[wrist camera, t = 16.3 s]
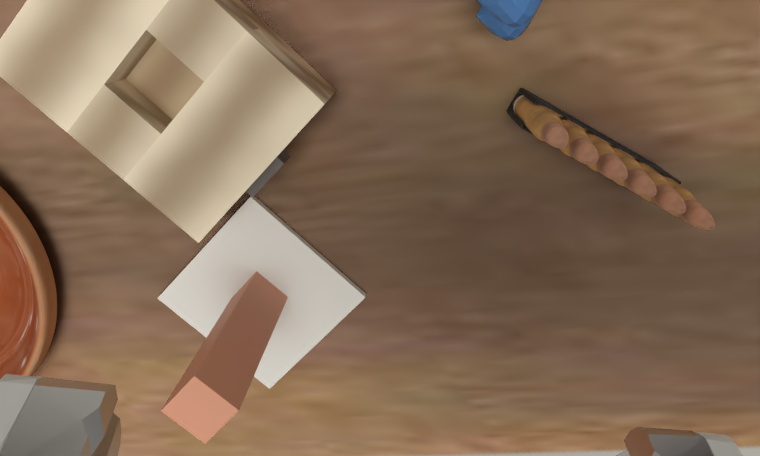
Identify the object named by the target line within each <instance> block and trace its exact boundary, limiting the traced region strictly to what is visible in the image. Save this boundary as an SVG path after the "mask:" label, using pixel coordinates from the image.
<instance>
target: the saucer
mask: <svg viewBox="0 0 760 456" xmlns="http://www.w3.org/2000/svg"><path fill="white" fill-rule="evenodd" d="M56 320H57V293H56V286H55V280H54V276H53V272H52V268H51V265H50V262H49V259H48V256H47V254H46V251H45V249H44V247H43V245H42V242H41V241H40V239H39V237H38V235H37V233H36V231H35V229H34V228H33V226H32V224H31V223H30V221H29V220H28V218H27V217H26V216H25V214H24V213H23V211H22V210H21V209H20V207H19V206H18V205H17V204H16V203H15V201H14V200H13V199H12V198H11V197H10V196H9V195H8V194H7V192H6V191H5V190H4V189H3V188H2V187H1V186H0V379H1V378H2V377H3V376H4V375H5V374H13V375H24V376H31V375H32V374H33V373H34V372H35V371H36V370H37V368H38V367H39V366H40V364H41V363H42V361H43V359H44V357H45V356H46V354H47V352H48V349H49V347H50V345H51V342H52V338H53V335H54V331H55V326H56Z"/></svg>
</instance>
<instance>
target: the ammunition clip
mask: <svg viewBox="0 0 760 456" xmlns="http://www.w3.org/2000/svg"><path fill="white" fill-rule="evenodd" d="M507 113H508V114H509V115H510V116H511V117H512V118H513V119H514V120H515V121H516V123H517V124H518V125H519V126H520V127H521V128H522V129H524V130H526V131H528V132H529V133H531V134H533V135H534V136H535V137H536V138H537V139H539V140H541V141H545V142H546V143H548V144H549V145H551V146H553V147H555V148H558V149H559V150H561V151H562V152H563V153H564V154H566V155H567V156H571V157H573V158H575V159H576V160H577V161H579V162H581V163H583V164H586V165H587V166H588V167H589V168H590V169H592V170H594V171H598V172H599V173H601V174H603V175H604V176H606V177H607V178H609V179H611V180H613V181H614V182H615V183H617V184H619V185H620V186H624V187H626V188H627V189H629V190H631V191H632V192H634V193H636V194H637V195H639V196H640V197H642V198H643V199H645V200H647V201H651V202H652V203H654V204H656V205H657V206H659V207H660V208H662V209H664V210H665V211H667V212H668V213H670V214H672V215H674V216H677V217H679V218H681V219H682V220H684V221H686V222H687V223H688V224H690V225H692V226H694V227H696V228H699V229H703V230H713V229H714V228H715V222H714V219H713V217H712V216H711V214H710V213H709V212H708V210H707V209H706V208H705V207H704V206H702V205H701V204H700V203H699V202H698V201H697V200H696V199H695V198H694V197H693V195H692V194H691V193H690V191H688V190H687V189H686V188H684V187H683V186H681V185H680V184H681V182H680V181H679V180H677V179H676V178H674V177H673V176H672V175H670V174H669V173H667V172H666V171H664V170H663V169H661V168H660V167H658V166H657V165H656V164H654V163H652V162H650V161H649V160H647V159H645V158H643V157H642V156H640V155H638V154H637V153H635V152H633V151H631V150H630V149H628V148H626V147H624V146H623V145H621V144H619V143H617V142H616V141H614V140H612V139H610V138H609V137H607V136H605V135H603V134H602V133H600V132H598V131H597V130H595V129H593V128H591V127H590V126H588V125H586V124H584V123H583V122H581V121H579V120H577V119H576V118H574V117H572V116H570V115H569V114H567V113H565V112H563V111H562V110H560V109H558V108H557V107H555V106H553V105H551V104H550V103H548V102H546V101H544V100H543V99H541V98H539V97H537V96H536V95H534V94H532V93H530V92H529V91H527V90H525V89H523V88H520V89H519V91H518V93H517V94H516V96H515V98H514V99H513V101H512V103H511V104H510V106H509V107H508V109H507Z"/></svg>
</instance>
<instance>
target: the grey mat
mask: <svg viewBox="0 0 760 456" xmlns="http://www.w3.org/2000/svg"><path fill="white" fill-rule="evenodd" d="M256 271H257V272H258V273H259V274H261V275H262V276H263V277H264V278H266V279H267V280H268V281H269V282H270V283H272V284H273V285H274V286H275V287H276V288H278V289H279V290H280V291H281V292H282V293H284V294H285V295H286V296H287V297H288V298H287V301H286V303H285V305H284V308H283V310H282V312H281V315H280V317H279V319H278V322H277V324H276V326H275V328H274V331H273V333H272V335H271V338H270V340H269V342H268V345H267V347H266V349H265V351H264V354H263V356H262V358H261V361H260V363H259V365H258V368H257V370H256V372H255V374H254V377H256V378H257V379H258V380H259V381H261V382H262V383H263V384H264V385H265V386H267V387H268V388H269V389H270V388H271V387H272V386H273V385H274V384H275V383H276V382H277V381H278V380H279V379H280V378H281V377H283V376H284V375H285V374H286V373H287V372H288V371H289V370H290V369H291V368H292V367H293V366H294V365H295V364H296V363H297V362H298V361H299V360H300V359H301V358H302V357H304V356H305V355H306V354H307V353H308V352H309V351H310V350H311V349H312V348H313V347H314V346H315V345H316V344H317V343H318V342H319V341H320V340H321V339H322V338H323V337H325V336H326V335H327V334H328V333H329V332H330V331H331V330H332V329H333V328H334V327H335V326H336V325H337V324H338V323H339V322H340V321H341V320H342V319H343V318H344V317H346V316H347V315H348V314H349V313H350V312H351V311H352V310H353V309H354V308H355V307H356V306H357V305H358V304H359V303H360V302H361V301H362V300H363V299H364V298H365V297H366V293H365V292H364V291H362V290H361V289H360V288H359V287H358V286H357V285H356V284H354V283H353V282H352V281H351V280H350V279H349V278H348V277H346V276H345V275H344V274H343V273H342V272H341V271H340V270H338V269H337V268H336V267H335V266H334V265H333V264H332V263H330V262H329V261H328V260H327V259H326V258H325V257H324V256H322V255H321V254H320V253H319V252H318V251H317V250H316V249H314V248H313V247H312V246H311V245H310V244H309V243H308V242H306V241H305V240H304V239H303V238H302V237H301V236H300V235H298V234H297V233H296V232H295V231H294V230H293V229H292V228H290V227H289V226H288V225H287V224H286V223H285V222H284V221H283V220H281V219H280V218H279V217H278V216H277V215H276V214H275V213H273V212H272V211H271V210H270V209H269V208H268V207H267V206H265V205H264V204H263V203H262V202H261V201H260V200H259V199H257V198H256V197H255V196H254V197H251V196H250V197H249V199H248V200H247V201H246V202H245V203H244V204H243V205H242V206H241V207H240V208H239V210H238V211H237V212H236V213H235V214H234V215H233V216H232V217H231V218H230V219H229V220H228V222H227V223H226V224H225V225H224V226H223V227H222V228H221V229H220V230H219V231H218V232H217V234H216V235H215V236H214V237H213V238H212V239H211V240H210V241H209V242H208V243H207V245H206V246H205V247H204V248H203V249H202V250H201V251H200V252H199V253H198V254H197V255H196V257H195V258H194V259H193V260H192V261H191V262H190V263H189V264H188V265H187V266H186V267H185V269H184V270H183V271H182V272H181V273H180V274H179V275H178V276H177V277H176V278H175V280H174V281H173V282H172V283H171V284H170V285H169V286H168V287H167V288H166V289H165V290H164V292H163V293H162V294H161V295H160V296H159V297H158V299H159V300H160V301H161V302H163V303H164V304H165V305H166V306H168V307H169V308H170V309H171V310H173V311H174V312H175V313H176V314H177V315H179V316H180V317H181V318H182V319H184V320H185V321H186V322H187V323H189V324H190V325H191V326H192V327H194V328H195V329H196V330H197V331H199V332H200V333H201V334H202V335H204V336H205V337H206V338H207V336H208V335H209V333H210V332H211V330H212V328H213V327H214V325H215V324H216V322H217V320H218V319H219V317H220V316H221V314H222V312H223V311H224V309H225V308H226V306H227V304H228V303H229V301H230V300H231V298H232V297H233V296H234V295H235V294H236V293H237V292H238V291H239V289H240V288H241V287H242V286H243V285H244V284H245V283H246V282H247V281H248V280H249V279H250V278H251V277H252V276H253V274H254V273H255V272H256Z"/></svg>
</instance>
